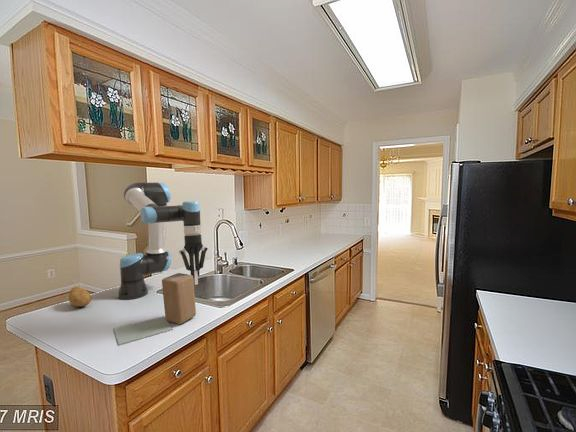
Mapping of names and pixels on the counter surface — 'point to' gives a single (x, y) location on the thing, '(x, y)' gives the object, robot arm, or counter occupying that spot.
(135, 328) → the mat
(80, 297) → the potato
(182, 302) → the wooden block
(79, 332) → the counter surface
